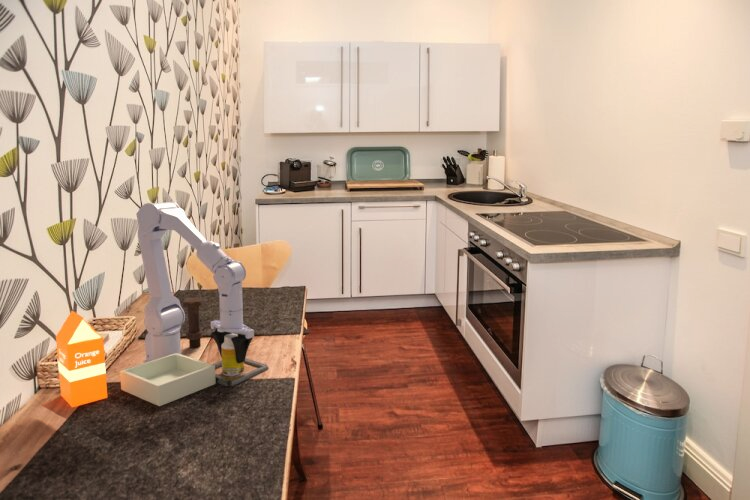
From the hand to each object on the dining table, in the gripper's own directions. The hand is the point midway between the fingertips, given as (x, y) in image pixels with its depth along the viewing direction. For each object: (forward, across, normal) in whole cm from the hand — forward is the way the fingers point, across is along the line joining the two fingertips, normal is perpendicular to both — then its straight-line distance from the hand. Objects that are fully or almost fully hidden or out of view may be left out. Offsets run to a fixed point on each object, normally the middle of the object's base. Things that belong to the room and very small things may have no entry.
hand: (232, 359), depth 139 cm
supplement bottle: (+4, 0, 0) cm, 4 cm away
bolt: (+4, -24, +6) cm, 25 cm away
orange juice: (+4, -17, -30) cm, 35 cm away
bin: (+4, -6, -15) cm, 17 cm away
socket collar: (+4, 0, 0) cm, 4 cm away
